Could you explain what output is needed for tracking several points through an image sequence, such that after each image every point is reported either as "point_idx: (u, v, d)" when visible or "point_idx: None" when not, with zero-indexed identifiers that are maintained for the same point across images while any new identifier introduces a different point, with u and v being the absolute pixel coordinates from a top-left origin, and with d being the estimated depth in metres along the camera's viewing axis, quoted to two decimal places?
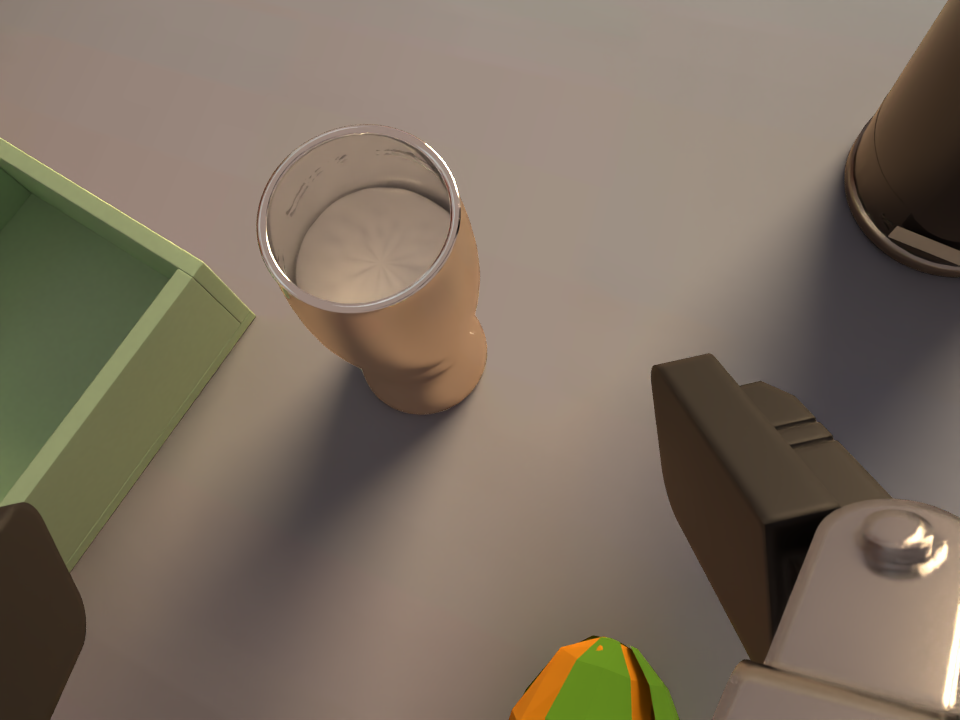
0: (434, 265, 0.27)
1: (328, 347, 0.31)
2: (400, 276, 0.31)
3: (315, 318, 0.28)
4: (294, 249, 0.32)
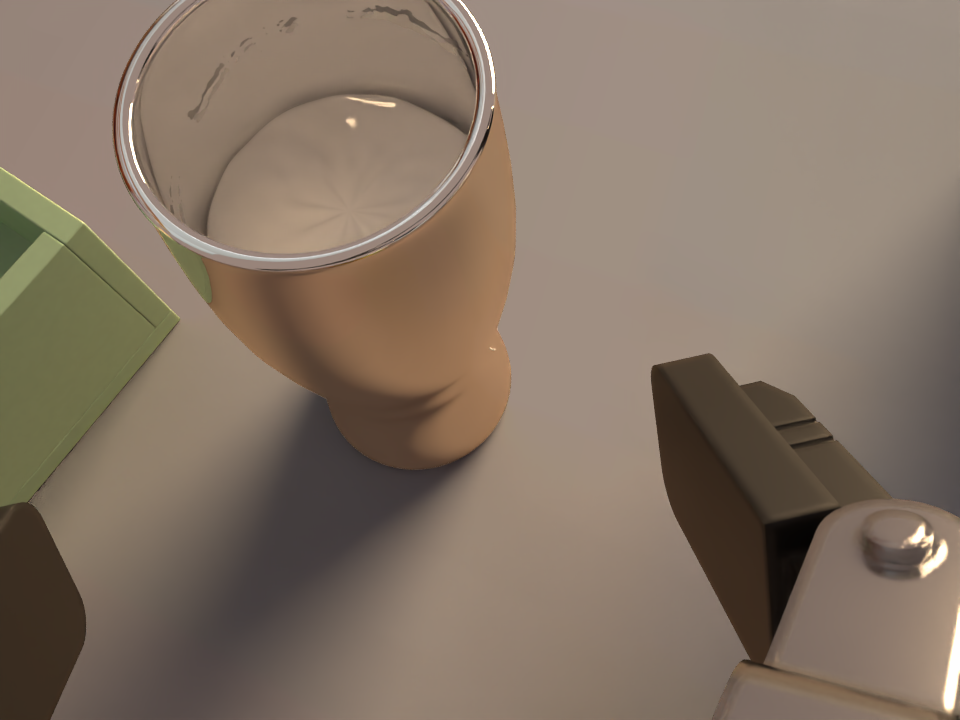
0: (443, 186, 0.14)
1: (253, 351, 0.18)
2: None
3: (215, 286, 0.15)
4: (207, 186, 0.19)
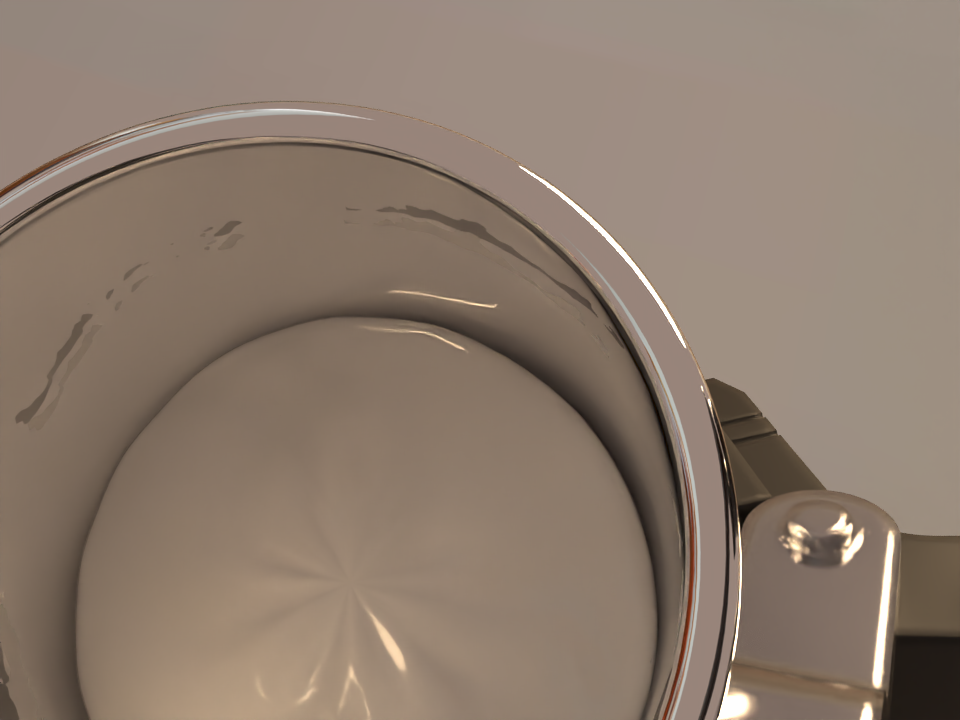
0: None
1: None
2: (415, 636, 0.09)
3: None
4: (79, 510, 0.10)
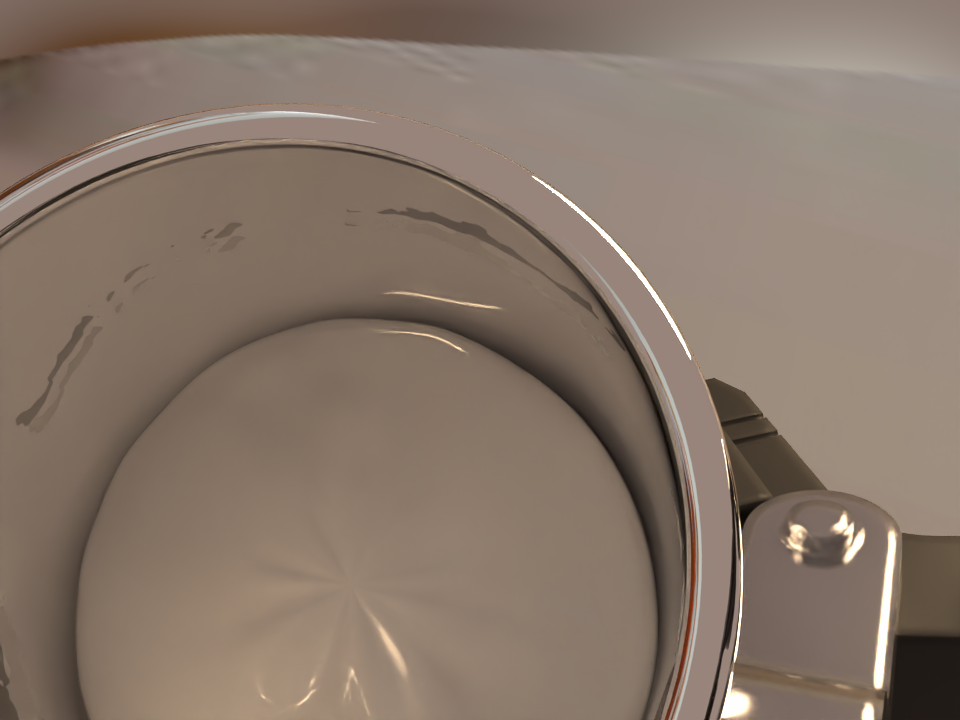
0: None
1: None
2: (416, 639, 0.09)
3: None
4: (79, 512, 0.10)
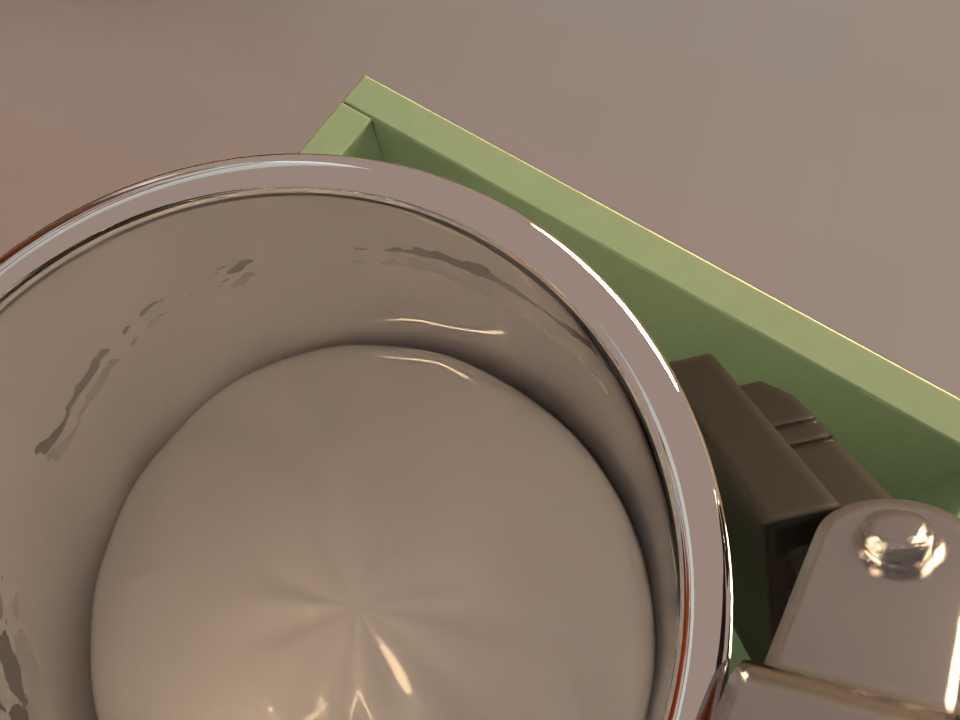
0: None
1: None
2: (420, 660, 0.09)
3: None
4: (93, 535, 0.10)
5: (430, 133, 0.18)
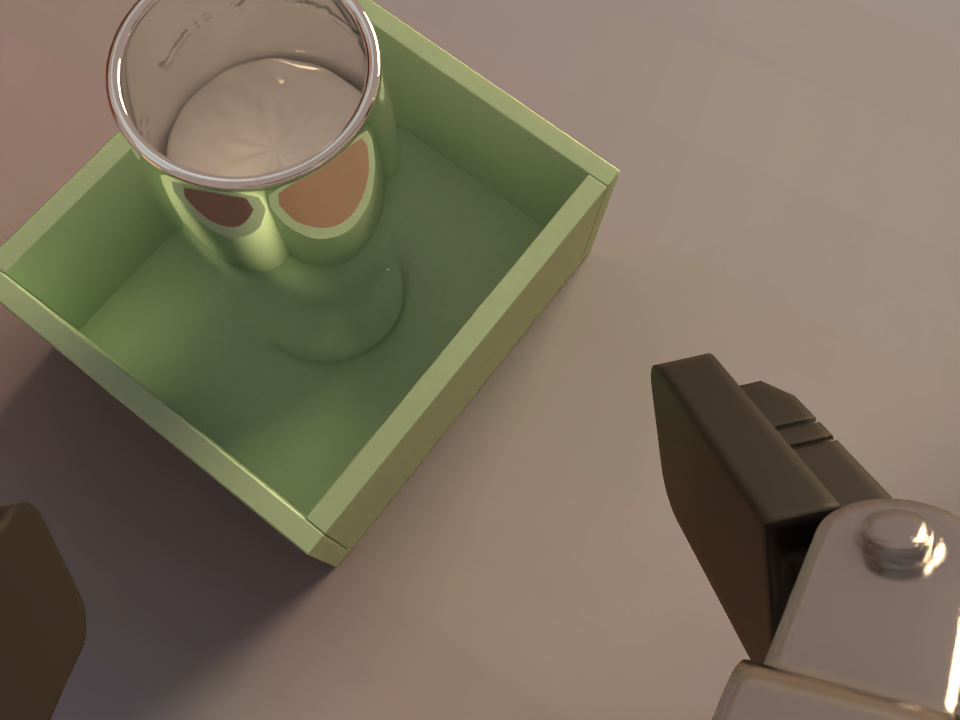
0: (336, 140, 0.20)
1: (195, 246, 0.25)
2: None
3: (172, 194, 0.21)
4: (168, 119, 0.25)
5: None
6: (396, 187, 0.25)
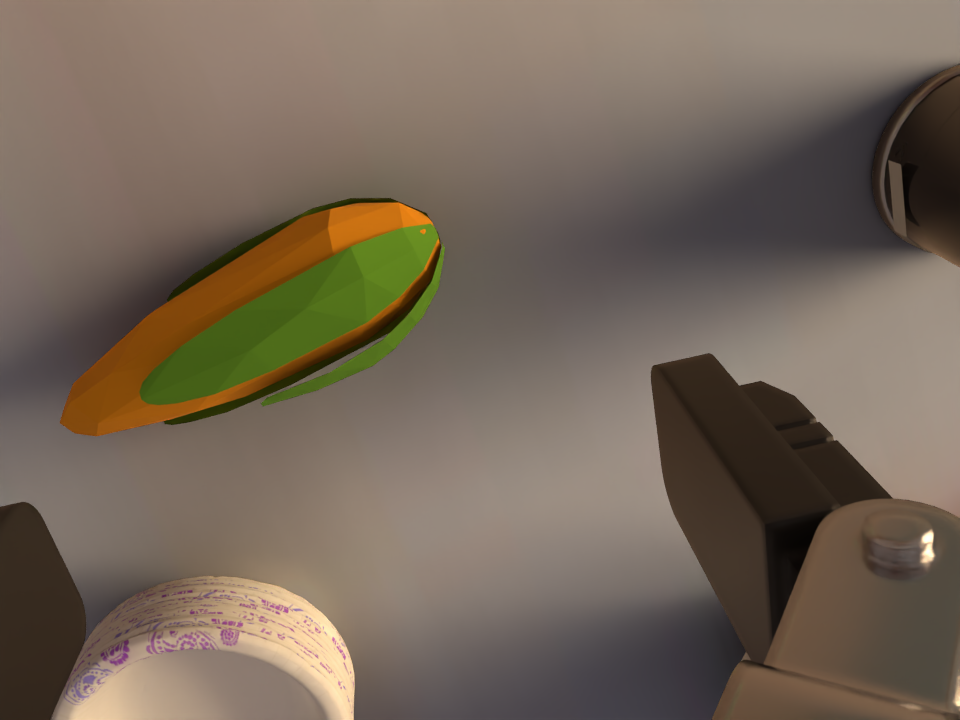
0: None
1: None
2: None
3: None
4: None
5: None
6: None
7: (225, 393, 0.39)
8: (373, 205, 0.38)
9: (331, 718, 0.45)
